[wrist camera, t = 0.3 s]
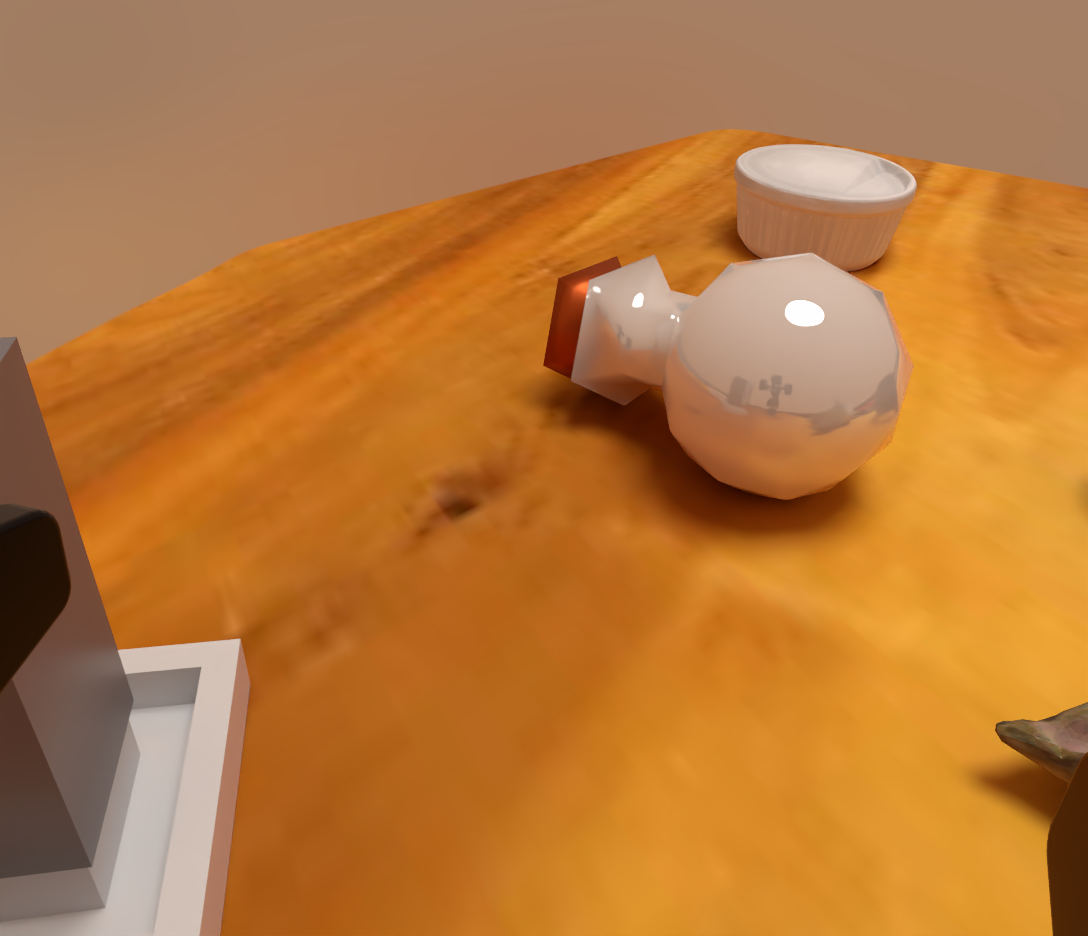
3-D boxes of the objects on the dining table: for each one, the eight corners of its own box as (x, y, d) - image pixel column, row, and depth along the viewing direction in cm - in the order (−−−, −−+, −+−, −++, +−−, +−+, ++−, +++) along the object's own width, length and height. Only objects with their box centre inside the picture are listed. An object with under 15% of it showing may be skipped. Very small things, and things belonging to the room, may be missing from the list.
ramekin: (922, 283, 58) (945, 199, 55) (743, 280, 57) (758, 195, 54) (865, 220, 67) (882, 145, 64) (711, 217, 66) (721, 141, 63)
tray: (210, 1015, 21) (194, 970, 20) (-283, 1091, 20) (-331, 1047, 18) (250, 684, 29) (240, 638, 28) (-98, 719, 28) (-123, 672, 27)
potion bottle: (859, 577, 37) (575, 457, 46) (972, 375, 39) (677, 300, 48) (801, 462, 30) (479, 348, 39) (943, 221, 31) (603, 169, 41)
